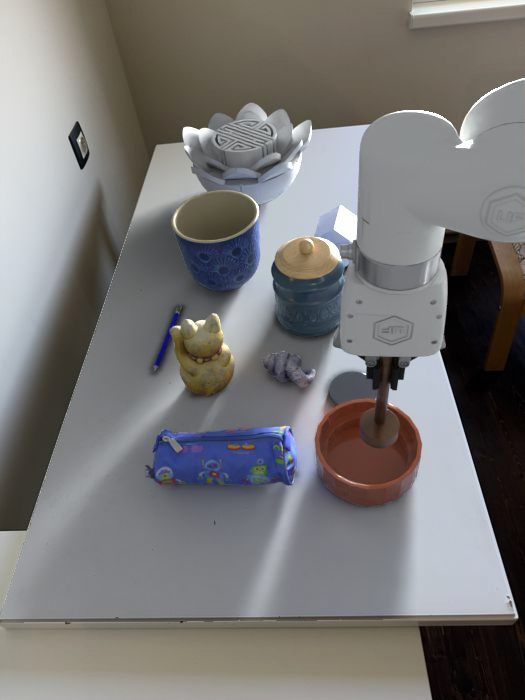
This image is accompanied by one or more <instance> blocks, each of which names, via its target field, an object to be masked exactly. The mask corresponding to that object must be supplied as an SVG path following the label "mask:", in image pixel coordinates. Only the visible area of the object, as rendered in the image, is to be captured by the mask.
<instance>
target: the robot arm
mask: <svg viewBox="0 0 525 700" xmlns="http://www.w3.org/2000/svg"><path fill="white" fill-rule="evenodd" d="M357 177H358V179H357V203H356V204H357V208H356V211H357V212H356V216H357V232H356V240H355V239H353V243H348V244H340V259H348V260H350V262H349V265H348V266H347V269H346V273H345V276H344V286H343V292H342V301H341V316H340V323H339V324H338V325H337V327H336V330H335V332H334V334H333V335H332V346H333V347H334V348H336V349H341V350H342V351H343V352H344V353H346V354H349V355H352V356H356V357H358V358H360V359H361V360H363V361H364V365H365V366H366V368H365V369H366V370H365V374H366V379H372V390H377V389H379V382H380V372H381V362H380V356H386V357H393V361H392V369H391V378H390V388H389V390H392V391H398V385H399V381H404V380H405V374H406V373H405V372H406V368H408V367H409V366H410V364H411V362H412V361H413V360H415V359H417V358H422V357H425V358H426V357H431V356H434V355H436V354H437V353H439V352H440V350H443V349H445V348H446V338H445V335H444V334H445V325H446V317H447V308H448V307H447V305H448V274H447V269H446V267H445V262H444V261H443V259H442V258H441V257H442V250H443V246H444V245H443V244H444V238H445V232H446V230H450V231H452V232H453V231H454V232H457V233H460V234H464V235H467V236H470V237H474V238H476V239H477V238H478V239H482V240H485V241H490V242H495V243H504V244H507V243H511V244H515V243H517V244H518V243H523V242H525V77H523V78H520V79H517V80H514V81H512V82H508V83H506V84H504V85H502V86H500V87H498V88H495V89H493V90H491V91H490V92H488V93H486V94H485V95H484V96H482V97H480V99H479V100H477V102H475V103H474V104H473V105H472V107H471V108H470V110H469V111H468V113H466V115H465V117H464V119H463V121H462V124H461V127H460V131H459V134H458V131H457V129H456V127H455V125H453V124H452V123H451V122H450V121H449V120H447V119H446V118H444V117H443V116H441V115H439V114H437V113H433V112H429V111H424V110H401V111H394V112H391V113H387V114H385V115H383V116H381V117H379V118H377V119H376V120H373V121H372V122H371V123H370V124H369V125H368V127H366V129H365V130H364V132H363V134H362V136H361V139H360V143H359V151H358V175H357Z"/></svg>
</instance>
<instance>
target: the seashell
mask: <svg viewBox="0 0 525 700" xmlns="http://www.w3.org/2000/svg"><path fill="white" fill-rule="evenodd" d="M261 361H262V365H263V368H264V369H265V370H266V372H267V373H268V374H269V376H272V377H273V378H274V377H275V378H276V379H277V380H278V381H279V382H280V383H289V382H293V384H294V385H295V386H297V387H299V388H307V387H309V386H310V384H311V382H312V381H313V380H314V379H315V378H316V370H315V368H311V369H308V370H307V371H305V372H304V371H303V370H302V369H301V367H302V358H301V357H300V356H299V355H298V354H289V352H287V351H280V352H279V353H275V352H271V353H270V352H269V353H267V354H266V355H265V357H263V358H262V359H261Z"/></svg>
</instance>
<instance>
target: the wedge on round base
mask: <svg viewBox="0 0 525 700" xmlns="http://www.w3.org/2000/svg"><path fill="white" fill-rule="evenodd" d="M356 232H357V215H355V214H354V213H352V212H351V211H350V210H348V209H347V208H345V206H343V205H341V204H340V205H339V206H337V207H334V208H333V209H331V210H330V211H327V212H326V213H325V214H323V215H320V217H319V219H318V222H317V226H316V229H315V232H314V235H313V237H318V238H322V239H325V240H327V241H329V242H331V243H332V244H334V245H335V246H336V248H337V249H338V251H339V255H340V244H348V243H353V239H355V240H356ZM342 260H343V262H344V268H346V267H348V265H349V262H350V260H348V259H342Z"/></svg>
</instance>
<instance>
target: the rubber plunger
mask: <svg viewBox="0 0 525 700" xmlns="http://www.w3.org/2000/svg"><path fill="white" fill-rule="evenodd" d="M392 361H393V357H386V356H380V362H381V372H380V382H379V389H377V395H376V406H375V408H372V409H369V410H367V411H366V412H364V413H363V415H362V416H361V418H360V425H359V434H360V437H361V439H362V440H363V441H364V442H365V443H366V444H367V445H369V446H371V447H373V448H387V447H389V446H391V445H393V444H394V443H395V442H396V440H397V438H398V433H399V427H400V424H399V420H398V418H397V416H396V415H395V414H394V413H393V412H391V411H390V410H388V409H387V404H389V395H390V378H391V369H392Z"/></svg>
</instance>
